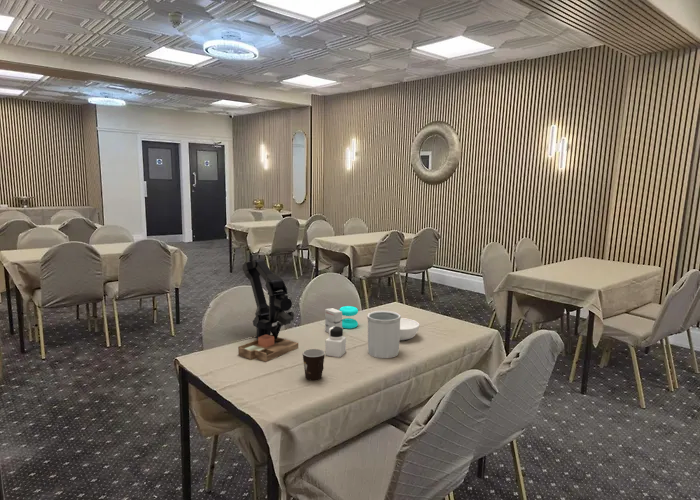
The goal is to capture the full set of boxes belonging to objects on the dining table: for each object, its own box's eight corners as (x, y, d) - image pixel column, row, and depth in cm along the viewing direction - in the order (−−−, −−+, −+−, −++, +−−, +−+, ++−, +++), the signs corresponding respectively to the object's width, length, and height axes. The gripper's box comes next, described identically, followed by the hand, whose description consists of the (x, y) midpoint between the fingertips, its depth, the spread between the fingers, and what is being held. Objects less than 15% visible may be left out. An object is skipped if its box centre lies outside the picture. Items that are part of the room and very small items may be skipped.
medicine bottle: (345, 352, 207) (346, 326, 205) (340, 357, 200) (340, 331, 199) (331, 349, 209) (331, 324, 208) (325, 355, 203) (325, 329, 201)
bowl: (376, 340, 223) (377, 326, 222) (388, 329, 240) (388, 316, 239) (413, 346, 216) (414, 331, 215) (422, 334, 233) (423, 320, 232)
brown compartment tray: (238, 355, 201) (238, 346, 200) (275, 341, 219) (275, 333, 219) (262, 363, 193) (262, 354, 192) (298, 348, 211) (298, 339, 210)
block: (258, 344, 207) (258, 337, 207) (266, 341, 211) (266, 334, 211) (266, 347, 204) (266, 339, 204) (274, 344, 208) (274, 336, 208)
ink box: (342, 334, 231) (343, 311, 229) (334, 335, 228) (335, 312, 226) (332, 329, 238) (332, 307, 236) (324, 331, 235) (324, 308, 233)
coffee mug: (302, 372, 184) (302, 348, 183) (324, 372, 185) (324, 348, 183) (302, 385, 173) (302, 360, 171) (325, 385, 173) (325, 359, 172)
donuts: (359, 306, 246) (356, 311, 236) (359, 324, 247) (355, 330, 238) (341, 304, 248) (337, 309, 238) (341, 322, 249) (336, 328, 240)
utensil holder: (361, 356, 203) (362, 317, 200) (372, 345, 216) (373, 308, 214) (394, 361, 198) (395, 321, 195) (402, 349, 211) (404, 312, 209)
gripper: (273, 313, 199) (274, 348, 201) (302, 304, 214) (302, 336, 216) (255, 309, 205) (256, 342, 207) (284, 300, 220) (284, 331, 222)
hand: (275, 338), depth 213 cm, fingers closed
